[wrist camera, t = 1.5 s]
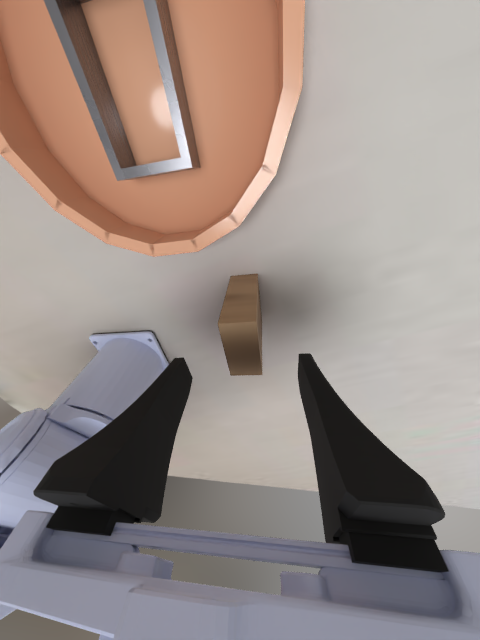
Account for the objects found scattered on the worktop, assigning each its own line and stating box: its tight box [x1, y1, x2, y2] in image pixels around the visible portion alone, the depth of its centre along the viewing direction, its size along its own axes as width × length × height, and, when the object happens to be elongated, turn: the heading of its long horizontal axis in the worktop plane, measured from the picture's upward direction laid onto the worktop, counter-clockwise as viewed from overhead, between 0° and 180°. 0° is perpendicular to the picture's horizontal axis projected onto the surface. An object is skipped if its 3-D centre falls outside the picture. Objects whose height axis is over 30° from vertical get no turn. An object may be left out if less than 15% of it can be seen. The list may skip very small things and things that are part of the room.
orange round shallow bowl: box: [0, 0, 305, 257], centre depth 10 cm, size 16×16×4 cm
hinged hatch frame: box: [44, 0, 201, 181], centre depth 10 cm, size 7×5×2 cm, turn 8°
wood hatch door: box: [218, 274, 262, 376], centre depth 17 cm, size 5×2×7 cm, turn 8°
